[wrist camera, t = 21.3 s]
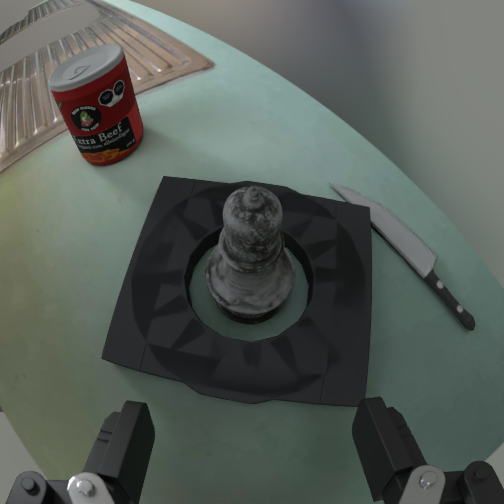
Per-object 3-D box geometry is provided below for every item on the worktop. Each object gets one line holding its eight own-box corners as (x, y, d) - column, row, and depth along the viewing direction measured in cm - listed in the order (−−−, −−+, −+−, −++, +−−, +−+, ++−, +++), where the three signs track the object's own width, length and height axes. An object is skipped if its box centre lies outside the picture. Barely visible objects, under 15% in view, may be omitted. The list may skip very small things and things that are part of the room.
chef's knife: (347, 173, 29) (328, 184, 28) (351, 165, 28) (331, 176, 27) (480, 314, 22) (467, 335, 21) (487, 309, 21) (475, 331, 20)
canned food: (76, 173, 29) (35, 95, 19) (91, 126, 33) (64, 55, 23) (140, 161, 29) (111, 72, 20) (148, 115, 33) (130, 36, 23)
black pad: (110, 369, 20) (99, 365, 18) (169, 185, 28) (165, 171, 26) (353, 413, 19) (363, 414, 17) (363, 214, 27) (369, 201, 25)
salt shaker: (210, 328, 22) (177, 251, 11) (211, 255, 25) (189, 142, 14) (291, 326, 22) (334, 248, 12) (285, 254, 25) (312, 141, 14)
